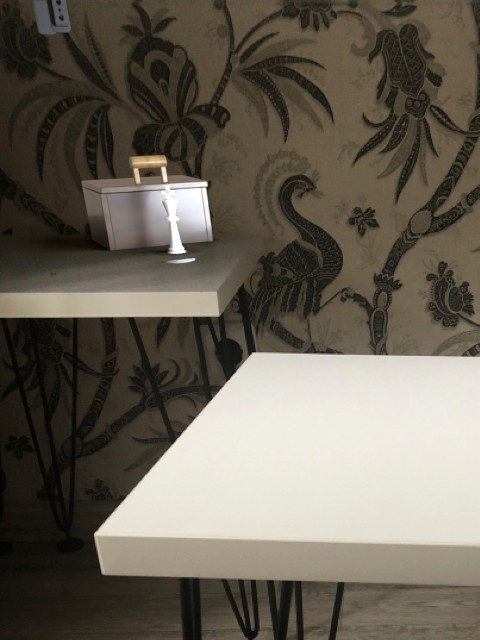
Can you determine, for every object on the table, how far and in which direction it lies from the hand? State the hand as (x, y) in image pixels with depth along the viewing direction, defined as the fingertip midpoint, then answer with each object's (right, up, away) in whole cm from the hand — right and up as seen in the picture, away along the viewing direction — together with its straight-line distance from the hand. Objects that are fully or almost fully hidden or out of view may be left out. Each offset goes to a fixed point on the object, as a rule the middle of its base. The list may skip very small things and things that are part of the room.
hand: (54, 33), depth 115 cm
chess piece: (+10, -22, +19) cm, 30 cm away
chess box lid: (+4, -9, +23) cm, 25 cm away
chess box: (+3, -16, +28) cm, 32 cm away
